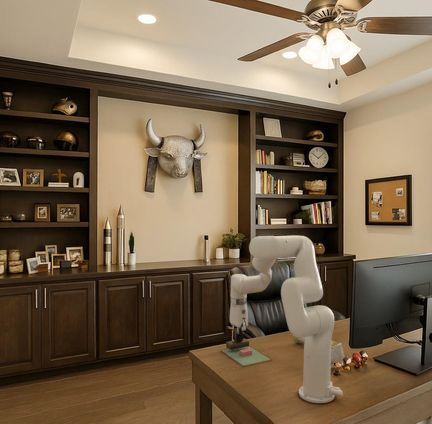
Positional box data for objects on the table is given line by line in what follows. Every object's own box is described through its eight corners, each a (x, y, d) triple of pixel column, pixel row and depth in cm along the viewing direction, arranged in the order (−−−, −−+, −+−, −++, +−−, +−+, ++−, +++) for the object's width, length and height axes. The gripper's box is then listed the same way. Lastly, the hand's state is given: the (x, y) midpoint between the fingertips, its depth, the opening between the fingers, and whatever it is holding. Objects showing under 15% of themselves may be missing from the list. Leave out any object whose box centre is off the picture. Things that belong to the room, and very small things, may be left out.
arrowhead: (331, 370, 160) (331, 346, 160) (327, 368, 162) (327, 344, 162) (346, 366, 164) (346, 343, 164) (342, 364, 166) (342, 341, 166)
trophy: (291, 327, 192) (330, 345, 166) (303, 325, 195) (344, 343, 169) (291, 344, 192) (330, 365, 165) (303, 342, 195) (344, 362, 169)
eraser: (239, 354, 174) (239, 350, 174) (248, 352, 177) (248, 348, 177) (242, 357, 172) (242, 352, 172) (252, 355, 174) (252, 350, 174)
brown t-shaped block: (226, 347, 180) (226, 329, 180) (244, 343, 185) (245, 326, 185) (230, 350, 176) (230, 331, 176) (249, 346, 182) (249, 328, 182)
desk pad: (271, 360, 170) (271, 359, 170) (243, 366, 162) (243, 365, 162) (247, 346, 187) (247, 345, 187) (221, 351, 179) (221, 350, 179)
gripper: (254, 303, 176) (253, 344, 176) (237, 296, 189) (236, 334, 190) (240, 305, 172) (239, 347, 172) (223, 298, 185) (222, 336, 186)
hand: (237, 340), depth 181 cm, fingers closed on brown t-shaped block, 2 cm apart
